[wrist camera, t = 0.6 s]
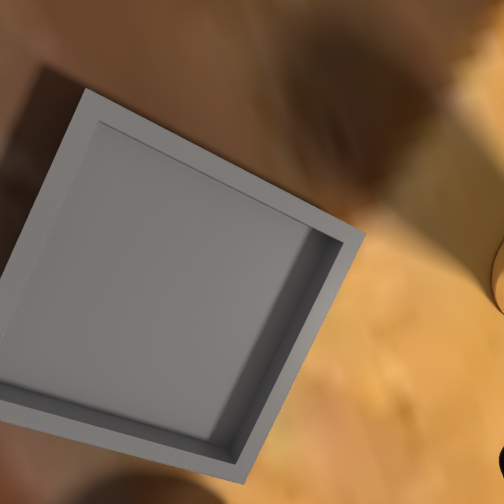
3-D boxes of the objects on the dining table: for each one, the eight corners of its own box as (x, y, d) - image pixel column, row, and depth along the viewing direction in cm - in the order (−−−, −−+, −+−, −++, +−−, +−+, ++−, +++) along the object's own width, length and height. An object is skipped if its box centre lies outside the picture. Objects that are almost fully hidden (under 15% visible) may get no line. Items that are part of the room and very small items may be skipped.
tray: (234, 460, 22) (243, 484, 21) (-40, 383, 18) (-57, 406, 17) (347, 228, 22) (366, 233, 20) (89, 95, 18) (85, 87, 16)
